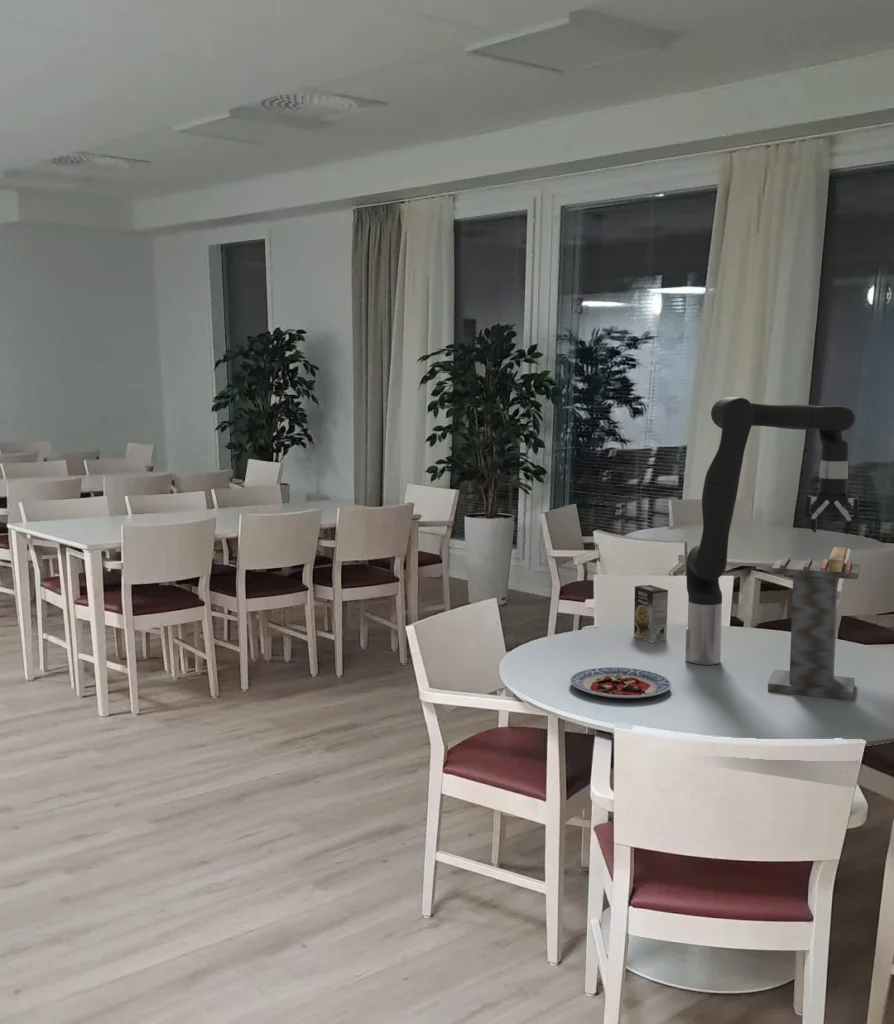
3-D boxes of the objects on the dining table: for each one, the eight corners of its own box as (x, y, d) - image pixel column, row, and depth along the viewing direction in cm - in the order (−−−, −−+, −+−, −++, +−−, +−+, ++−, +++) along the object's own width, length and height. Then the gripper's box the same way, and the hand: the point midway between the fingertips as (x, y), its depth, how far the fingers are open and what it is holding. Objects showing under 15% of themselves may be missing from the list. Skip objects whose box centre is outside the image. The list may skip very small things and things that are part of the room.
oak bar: (828, 571, 235) (828, 559, 234) (833, 557, 254) (834, 546, 254) (841, 572, 233) (841, 560, 233) (845, 558, 253) (846, 547, 253)
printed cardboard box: (632, 636, 301) (633, 586, 299) (649, 633, 304) (650, 584, 302) (650, 642, 293) (651, 591, 291) (667, 640, 296) (668, 589, 294)
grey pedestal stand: (767, 690, 244) (771, 564, 240) (773, 676, 256) (778, 556, 253) (852, 700, 235) (858, 570, 232) (854, 685, 248) (860, 561, 244)
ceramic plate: (672, 708, 232) (673, 696, 231) (566, 702, 237) (566, 690, 237) (669, 677, 257) (670, 667, 256) (573, 672, 262) (573, 662, 262)
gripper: (805, 476, 270) (803, 533, 272) (860, 478, 264) (857, 536, 266) (807, 474, 277) (805, 530, 279) (861, 476, 271) (858, 532, 273)
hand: (830, 533), depth 273 cm, fingers open, 8 cm apart
